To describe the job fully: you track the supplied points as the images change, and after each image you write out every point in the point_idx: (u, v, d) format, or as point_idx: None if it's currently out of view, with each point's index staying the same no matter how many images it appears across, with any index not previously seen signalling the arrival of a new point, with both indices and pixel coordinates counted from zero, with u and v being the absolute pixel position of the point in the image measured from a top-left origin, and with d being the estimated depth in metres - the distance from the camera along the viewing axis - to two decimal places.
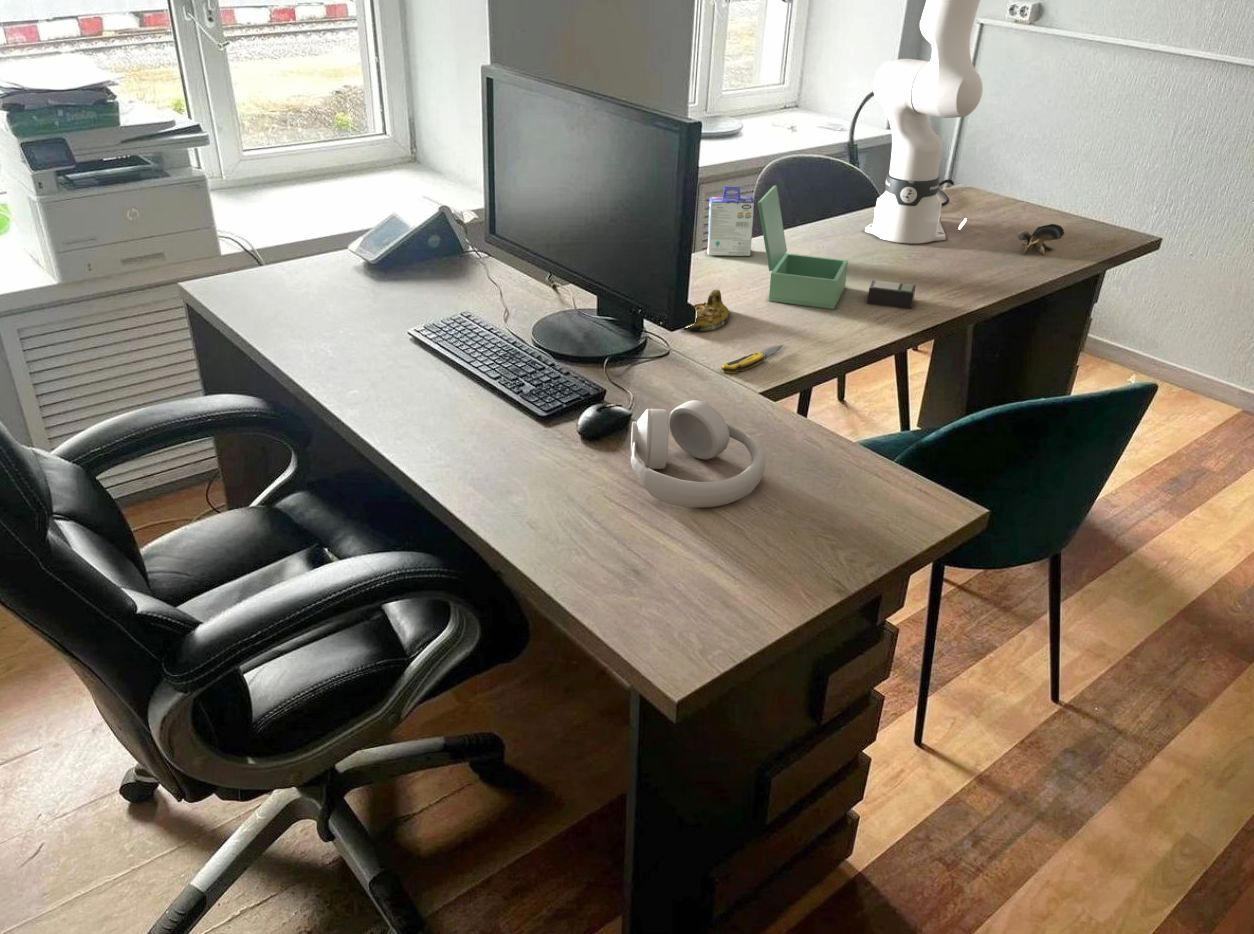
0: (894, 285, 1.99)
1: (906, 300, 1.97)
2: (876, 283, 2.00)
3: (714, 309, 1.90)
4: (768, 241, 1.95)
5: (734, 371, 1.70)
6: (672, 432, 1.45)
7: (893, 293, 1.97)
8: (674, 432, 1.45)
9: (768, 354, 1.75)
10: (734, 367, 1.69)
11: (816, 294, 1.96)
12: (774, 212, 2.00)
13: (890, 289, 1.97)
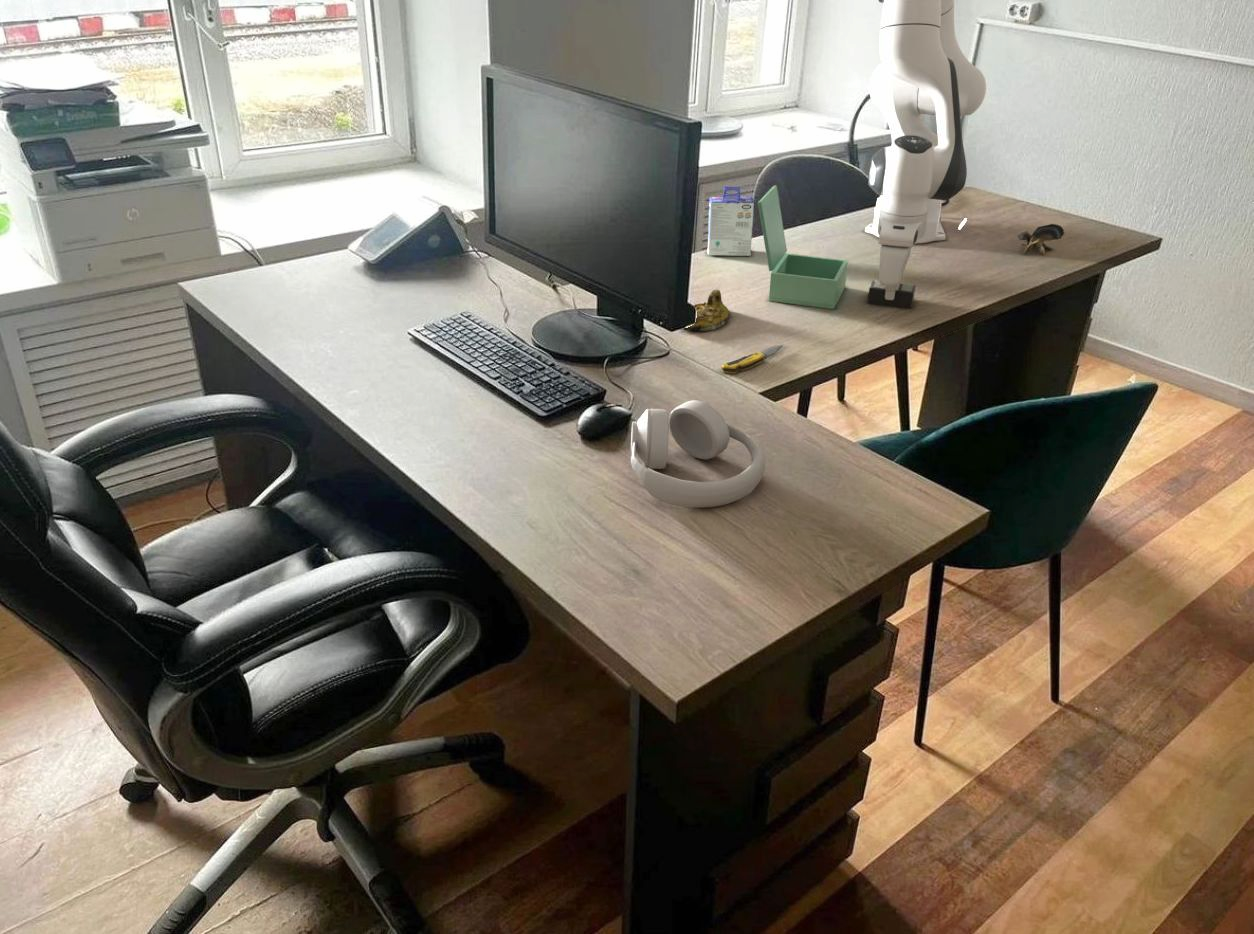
0: None
1: (906, 300, 1.97)
2: (876, 283, 2.00)
3: (714, 309, 1.90)
4: (768, 241, 1.95)
5: (734, 371, 1.70)
6: (672, 432, 1.45)
7: None
8: (674, 432, 1.45)
9: (768, 354, 1.75)
10: (734, 367, 1.69)
11: (816, 294, 1.96)
12: (774, 212, 2.00)
13: None
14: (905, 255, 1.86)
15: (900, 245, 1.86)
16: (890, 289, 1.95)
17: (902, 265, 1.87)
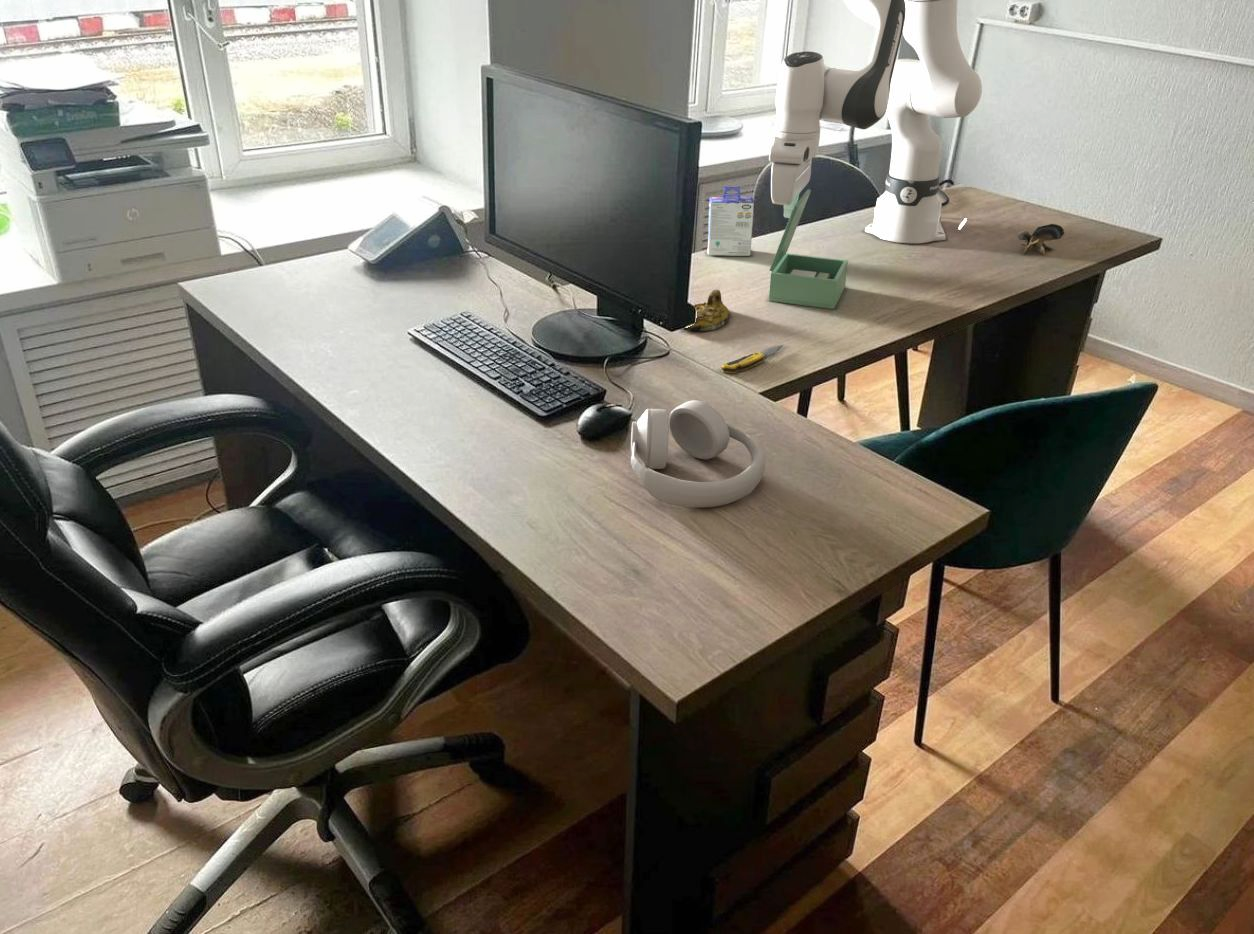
0: (810, 274, 2.02)
1: None
2: (793, 272, 2.03)
3: (714, 309, 1.90)
4: (783, 244, 1.95)
5: (734, 371, 1.70)
6: (672, 432, 1.45)
7: None
8: (674, 432, 1.45)
9: (768, 354, 1.75)
10: (734, 367, 1.69)
11: (816, 294, 1.96)
12: (798, 216, 1.99)
13: None
14: (795, 172, 1.84)
15: (790, 162, 1.84)
16: (788, 207, 1.95)
17: (792, 182, 1.85)
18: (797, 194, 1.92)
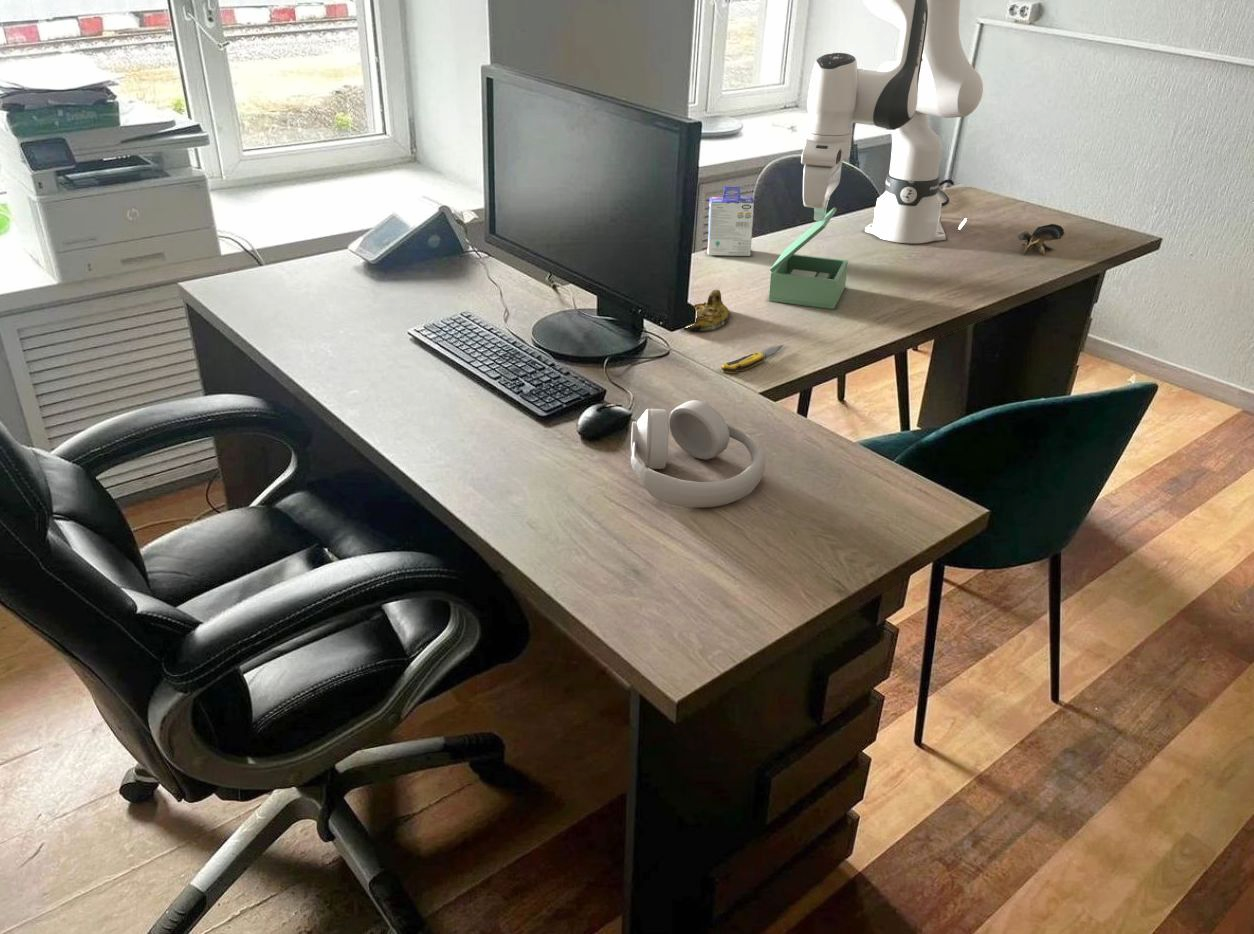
0: (810, 274, 2.02)
1: None
2: (793, 272, 2.03)
3: (714, 309, 1.90)
4: None
5: (734, 371, 1.70)
6: (672, 432, 1.45)
7: None
8: (674, 432, 1.45)
9: (768, 354, 1.75)
10: (734, 367, 1.69)
11: (816, 294, 1.96)
12: None
13: None
14: (828, 174, 1.83)
15: (822, 164, 1.83)
16: (818, 209, 1.93)
17: (825, 185, 1.83)
18: (828, 197, 1.90)
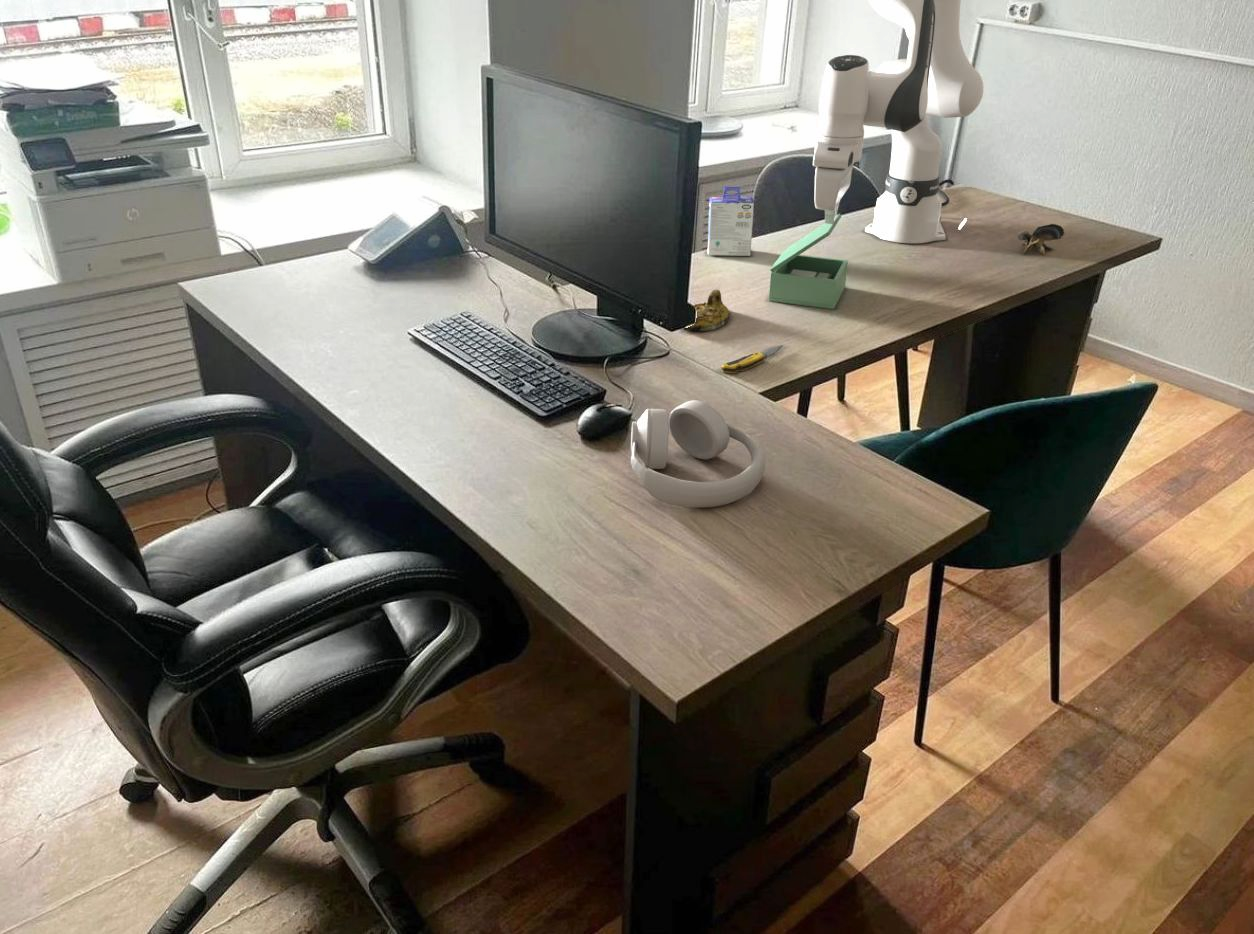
0: (810, 274, 2.02)
1: None
2: (793, 272, 2.03)
3: (714, 309, 1.90)
4: None
5: (734, 371, 1.70)
6: (672, 432, 1.45)
7: None
8: (674, 432, 1.45)
9: (768, 354, 1.75)
10: (734, 367, 1.69)
11: (816, 294, 1.96)
12: None
13: None
14: (840, 177, 1.82)
15: (834, 166, 1.82)
16: (829, 212, 1.93)
17: (837, 187, 1.82)
18: (839, 199, 1.90)
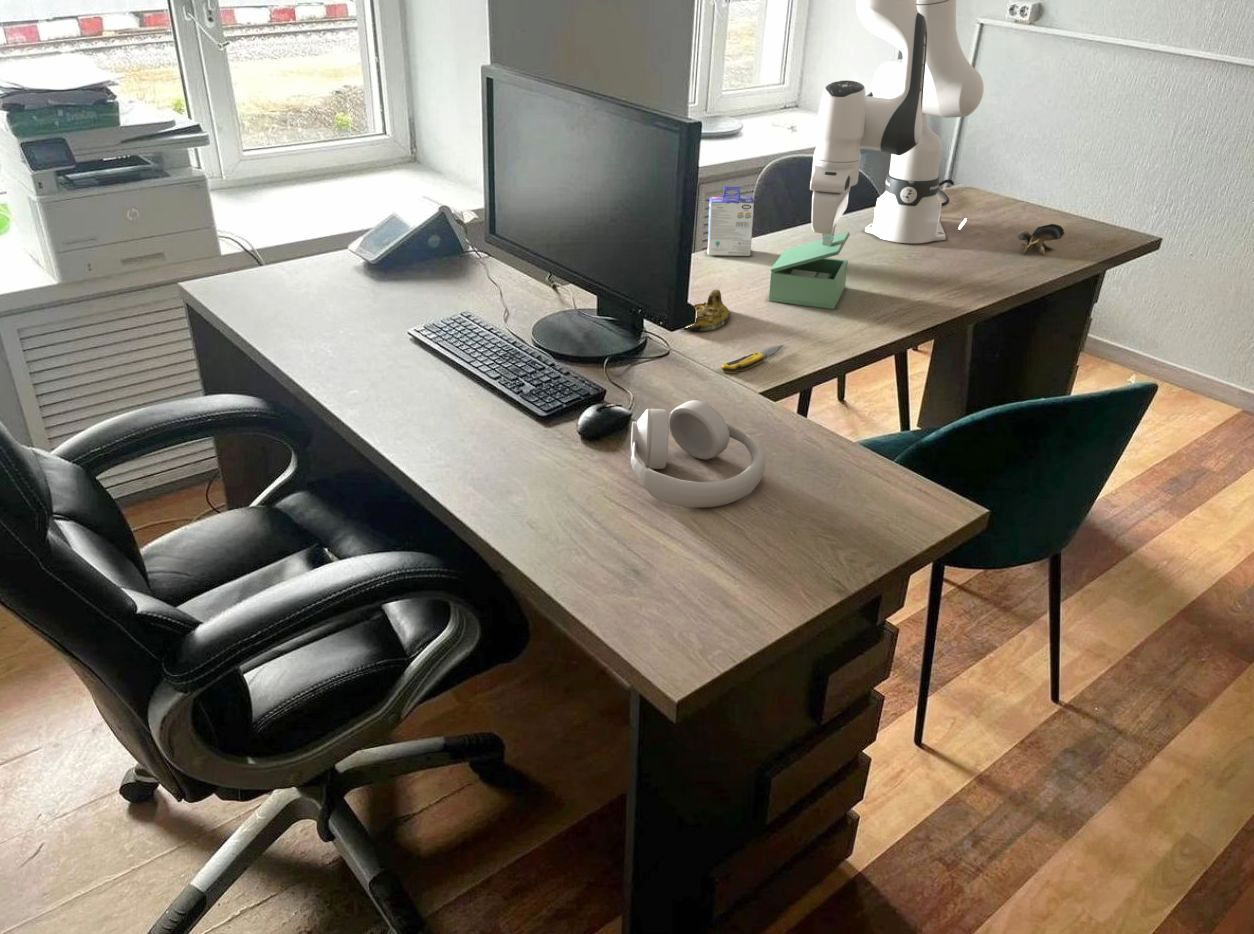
0: (810, 274, 2.02)
1: None
2: (793, 272, 2.03)
3: (714, 309, 1.90)
4: None
5: (734, 371, 1.70)
6: (672, 432, 1.45)
7: None
8: (674, 432, 1.45)
9: (768, 354, 1.75)
10: (734, 367, 1.69)
11: (816, 294, 1.96)
12: None
13: None
14: (836, 201, 1.84)
15: (831, 191, 1.84)
16: (826, 234, 1.95)
17: (834, 211, 1.85)
18: (836, 222, 1.92)
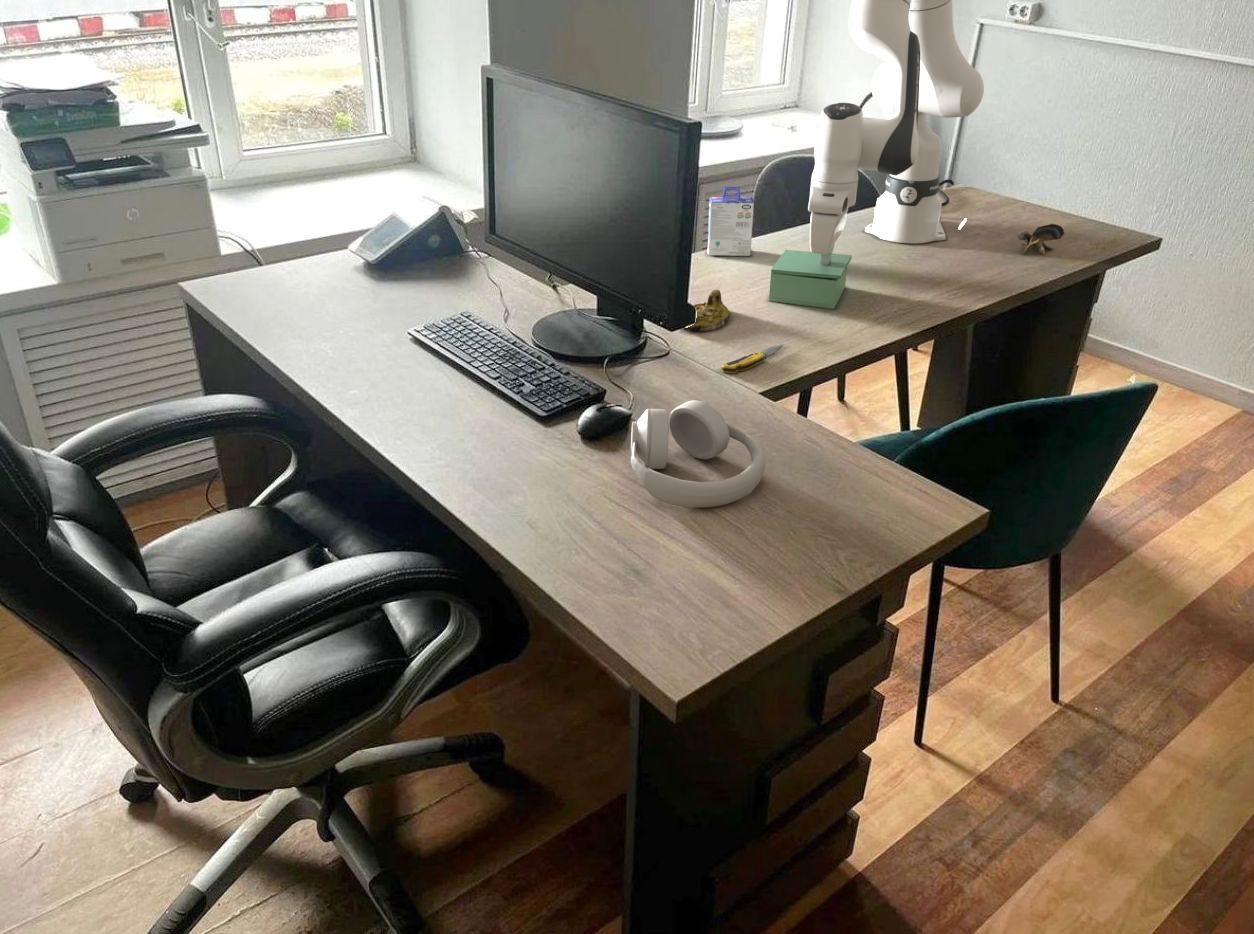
0: None
1: None
2: None
3: (714, 309, 1.90)
4: None
5: (734, 371, 1.70)
6: (672, 432, 1.45)
7: None
8: (674, 432, 1.45)
9: (768, 354, 1.75)
10: (734, 367, 1.69)
11: (816, 294, 1.96)
12: None
13: None
14: (834, 222, 1.86)
15: (829, 212, 1.86)
16: (825, 254, 1.97)
17: (831, 232, 1.87)
18: (834, 242, 1.94)
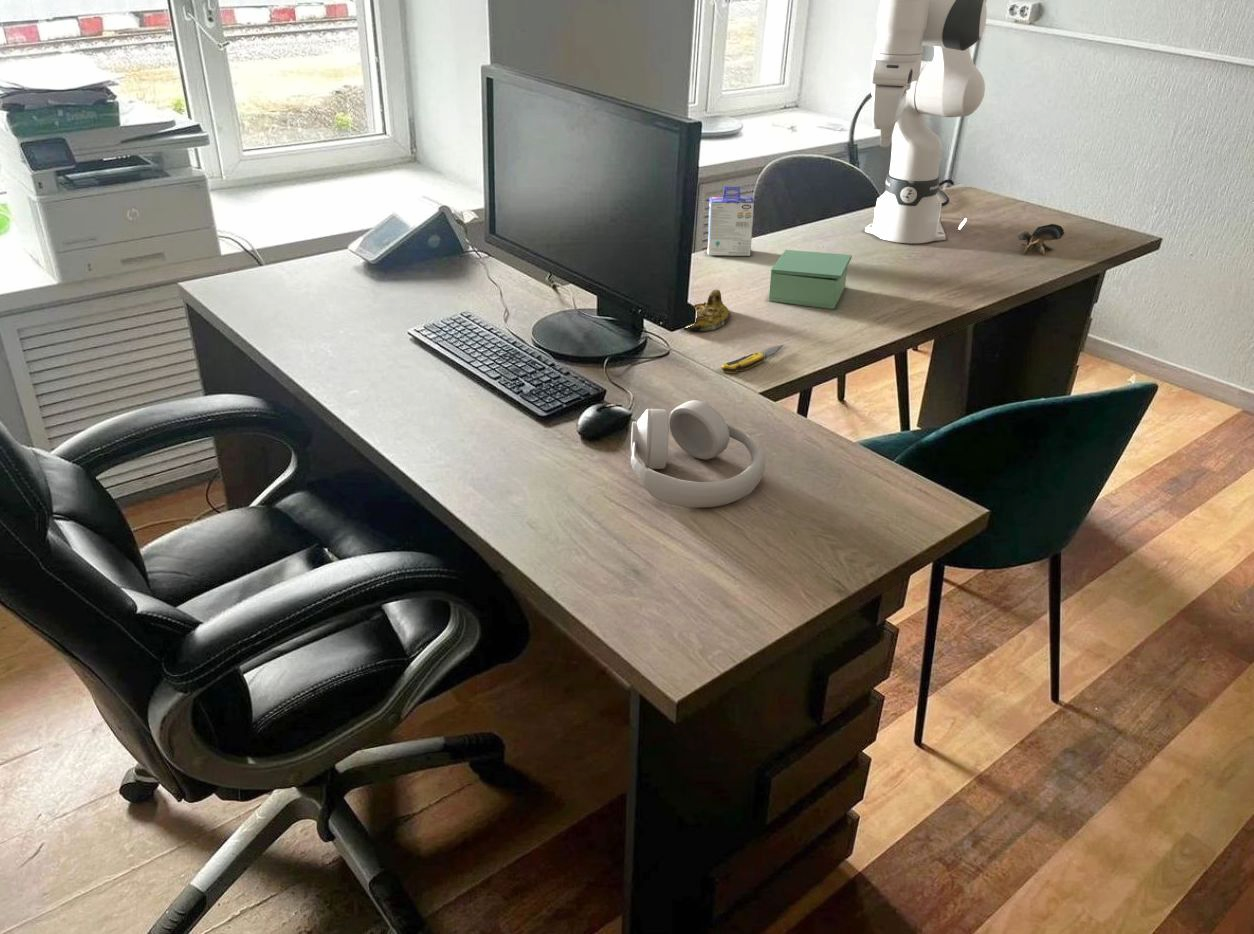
0: None
1: None
2: None
3: (714, 309, 1.90)
4: None
5: (734, 371, 1.70)
6: (672, 432, 1.45)
7: None
8: (674, 432, 1.45)
9: (768, 354, 1.75)
10: (734, 367, 1.69)
11: (816, 294, 1.96)
12: None
13: None
14: (899, 94, 1.78)
15: (894, 84, 1.78)
16: (885, 135, 1.89)
17: (896, 105, 1.79)
18: (896, 120, 1.86)
